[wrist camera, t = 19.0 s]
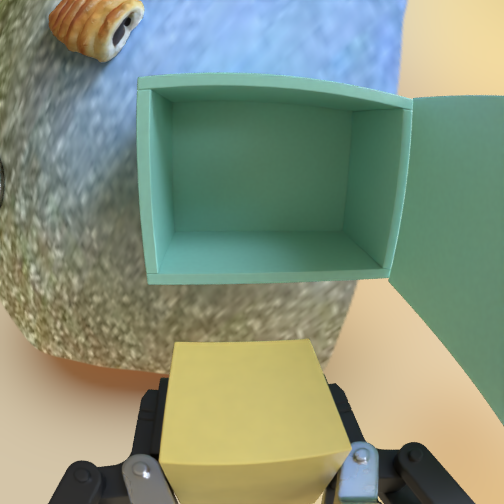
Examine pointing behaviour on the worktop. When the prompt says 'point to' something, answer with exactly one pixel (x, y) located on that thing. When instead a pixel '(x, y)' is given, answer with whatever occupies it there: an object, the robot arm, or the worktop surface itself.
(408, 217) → the lid
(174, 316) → the worktop surface
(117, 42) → the pastry
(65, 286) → the worktop surface
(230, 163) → the cool box
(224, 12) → the worktop surface
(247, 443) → the block
